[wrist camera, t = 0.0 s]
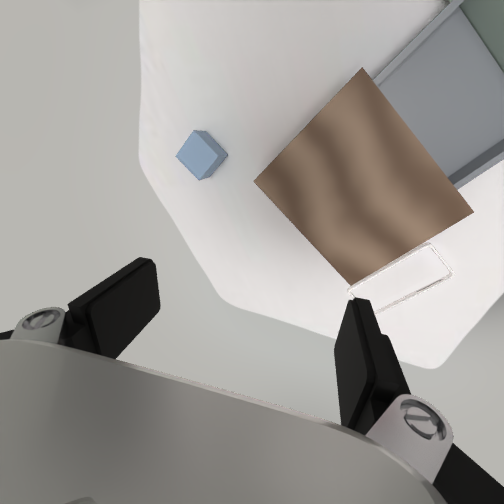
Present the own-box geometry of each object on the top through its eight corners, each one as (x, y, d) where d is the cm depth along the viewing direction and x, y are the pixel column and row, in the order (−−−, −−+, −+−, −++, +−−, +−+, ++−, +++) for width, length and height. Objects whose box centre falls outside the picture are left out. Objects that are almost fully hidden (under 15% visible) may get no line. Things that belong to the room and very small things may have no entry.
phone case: (426, 239, 38) (345, 287, 44) (430, 242, 37) (346, 291, 43) (452, 271, 39) (369, 313, 46) (457, 276, 38) (371, 318, 44)
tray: (455, -24, 25) (507, -86, 18) (553, 124, 28) (629, 118, 21) (329, 106, 32) (333, 97, 25) (417, 213, 35) (442, 230, 28)
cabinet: (350, 86, 32) (362, 67, 24) (437, 196, 35) (474, 212, 27) (265, 173, 39) (253, 181, 31) (343, 258, 42) (350, 286, 34)
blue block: (206, 131, 38) (193, 130, 34) (228, 154, 39) (218, 156, 35) (189, 154, 41) (175, 156, 37) (210, 176, 41) (198, 180, 37)
